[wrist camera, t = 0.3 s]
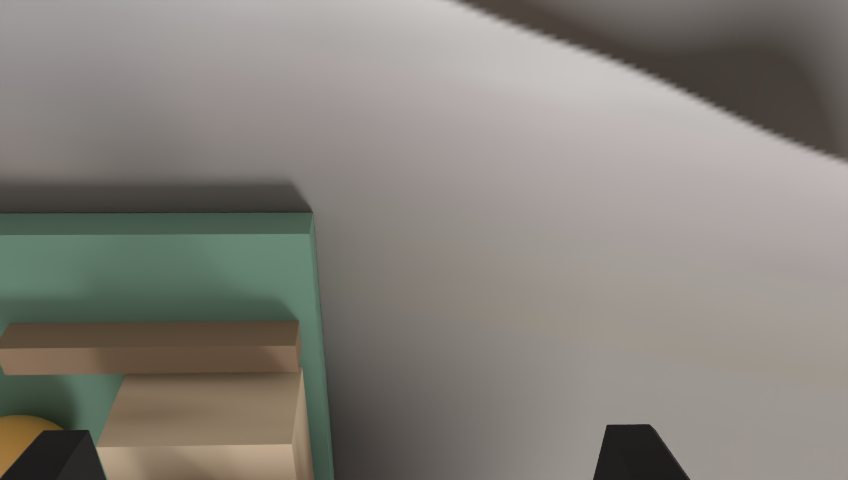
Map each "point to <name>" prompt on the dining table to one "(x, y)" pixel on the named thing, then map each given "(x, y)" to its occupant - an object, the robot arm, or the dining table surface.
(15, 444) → the ball
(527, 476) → the dining table surface
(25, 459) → the robot arm
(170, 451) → the beige block
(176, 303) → the pitch
